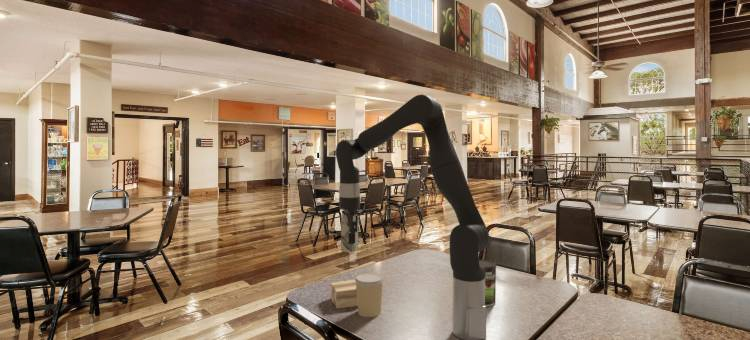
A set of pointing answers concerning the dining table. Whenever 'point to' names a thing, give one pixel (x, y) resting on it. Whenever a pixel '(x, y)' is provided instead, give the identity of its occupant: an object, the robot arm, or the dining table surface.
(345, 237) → the box
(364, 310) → the coffee cup
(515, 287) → the dining table surface
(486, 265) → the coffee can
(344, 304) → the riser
